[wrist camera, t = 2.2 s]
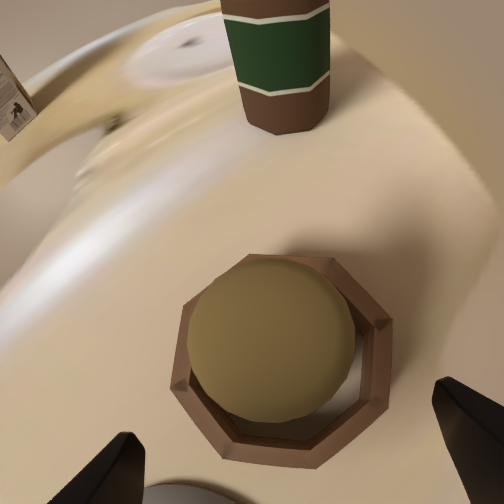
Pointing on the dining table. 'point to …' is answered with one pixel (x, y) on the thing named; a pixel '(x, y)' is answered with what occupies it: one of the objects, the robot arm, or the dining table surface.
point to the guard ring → (333, 436)
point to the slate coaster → (183, 495)
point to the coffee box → (13, 103)
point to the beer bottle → (281, 60)
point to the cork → (271, 340)
